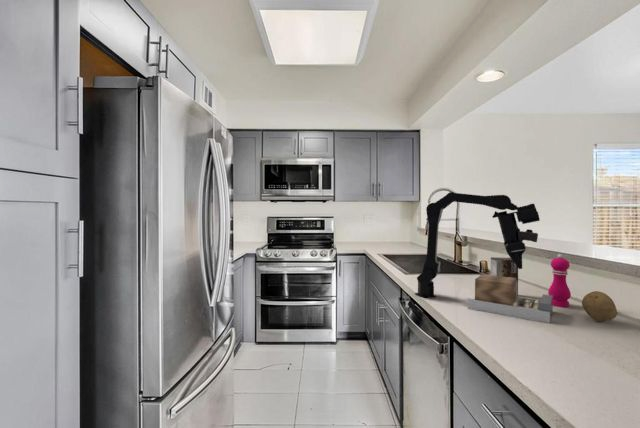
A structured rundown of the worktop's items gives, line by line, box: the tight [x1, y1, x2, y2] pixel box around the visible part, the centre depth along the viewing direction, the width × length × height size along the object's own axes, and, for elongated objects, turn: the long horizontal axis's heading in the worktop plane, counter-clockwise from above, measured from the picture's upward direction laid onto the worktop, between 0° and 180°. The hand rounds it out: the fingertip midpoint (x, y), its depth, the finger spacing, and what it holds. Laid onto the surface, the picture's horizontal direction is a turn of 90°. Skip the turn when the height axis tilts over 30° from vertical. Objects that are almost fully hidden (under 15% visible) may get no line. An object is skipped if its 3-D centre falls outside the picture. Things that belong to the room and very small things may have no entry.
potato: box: [581, 290, 618, 323], centre depth 113 cm, size 9×9×10 cm
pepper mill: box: [547, 253, 572, 308], centre depth 131 cm, size 7×7×20 cm
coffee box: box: [490, 256, 519, 297], centre depth 145 cm, size 9×6×16 cm
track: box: [467, 294, 554, 324], centre depth 125 cm, size 26×16×6 cm, turn 52°
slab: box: [474, 273, 516, 305], centre depth 127 cm, size 12×12×8 cm
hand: (519, 266), depth 128 cm, fingers open, 9 cm apart
